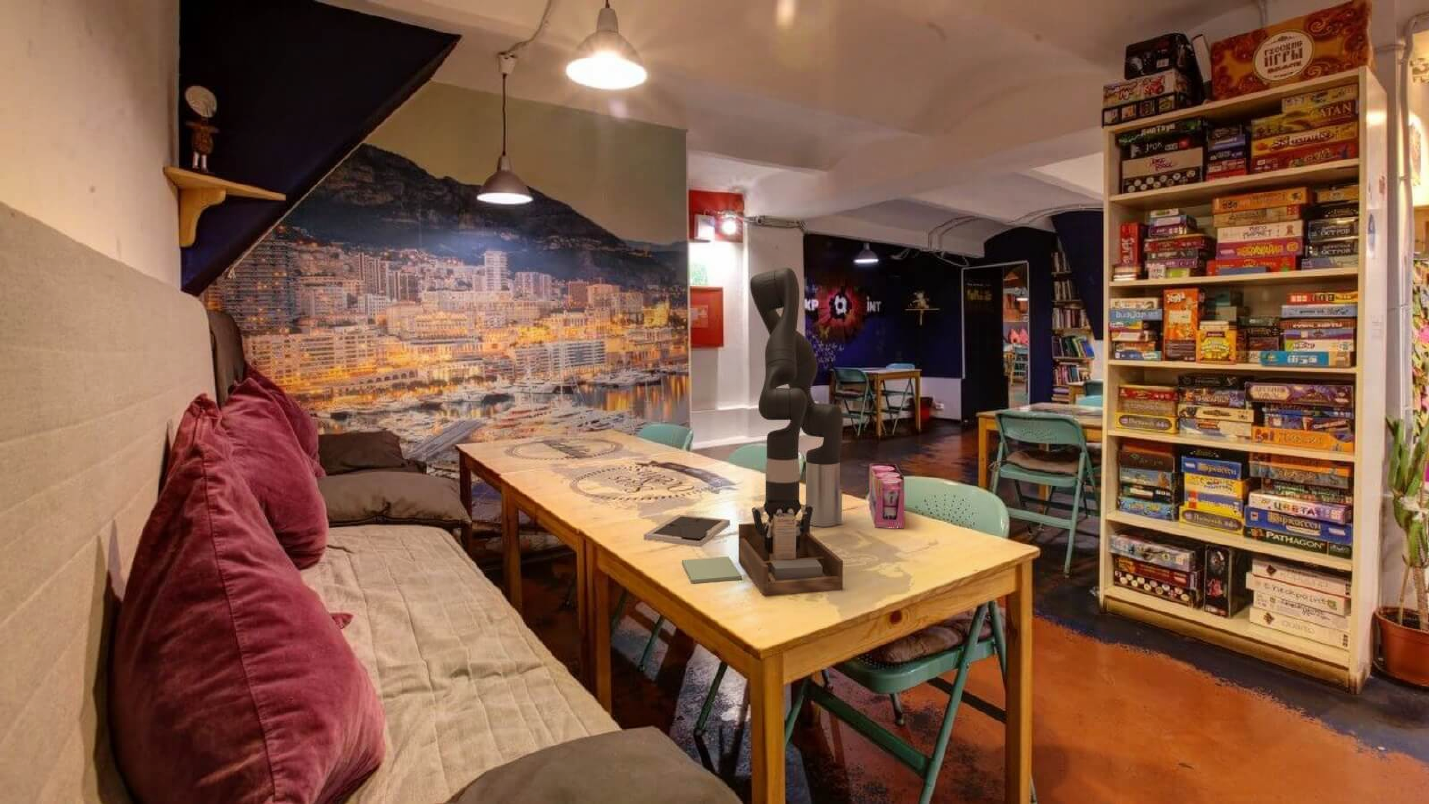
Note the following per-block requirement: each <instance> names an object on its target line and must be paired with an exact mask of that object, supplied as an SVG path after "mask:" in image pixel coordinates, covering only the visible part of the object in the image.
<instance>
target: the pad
mask: <svg viewBox="0 0 1429 804" xmlns="http://www.w3.org/2000/svg"><path fill="white" fill-rule="evenodd" d="M681 564H683V565H682V566H684V567H683V569H684V568H685V569H684V571H685V570H686V571H685V572H687V573H686V575H687V574H688V575H687V576H689V577H688V579H689V578H690V579H689V580H691V581H690V583H691V584H700V583H701V582H702V583H701V584H703V582H704V583H713V582H714V583H715V582H716V583H717V582H725V581H739V580H742V579H743V575H742V574H741V572H740V571H739V569H738V568H737V567H736V566H735V565H736V564H734V562H733V561H732V560H731V558H730V556H718V557H705V558H693V559H682V560H681Z"/></svg>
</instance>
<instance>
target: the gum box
mask: <svg viewBox="0 0 1429 804" xmlns="http://www.w3.org/2000/svg"><path fill="white" fill-rule="evenodd" d="M868 469H869V472H868V473H869V488H868V489H869V490H868V491H869V493H868V496H869V497H868V498H869V499H868V509H869V511H871V512H870V515H871V519H872V520H873V521H872V522H873V524H874V528H876V527H892V528H891V529H898V528H905V527H904V526H905V476H904V475H903V474H902V472H901V471H900V470H899V468H898V465H897V464H896V463H870V464H869V468H868ZM893 527H894V528H893ZM897 527H898V528H897Z"/></svg>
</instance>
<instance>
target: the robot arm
mask: <svg viewBox="0 0 1429 804" xmlns="http://www.w3.org/2000/svg"><path fill="white" fill-rule="evenodd" d="M749 289H750V294H751V296H752V299H753V300H752V301H753V303H754V304H755V305H754V306H755V307H756V309H757V311H758V313H759V316H760V318H761V320H762V323H764V324H763V325H764V326H765V327H766V330H767V333H768V334H769V337H768V339H767V342H766V344H765V345H766V346H765V348H764V361H765V362H764V367H765V371H764V372H765V376H764V382H763V386H762V390H761V392H760V394H759V395H760V396H759V400H758V408H757V409H758V412H759V414H760V415H761V417H762V418H763V419H765V420H767V421H789V423H788V424H787V426H786V427H784V428H781V429H775V430H772V431H769V433H768V434H767V436H766V460H765V461H766V462H765V502H764V504H763V506H760V507H752V509H751V513H752V518H753V523H755V527H756V531H757V532H758V533H759V535H761V536H765V549H766V550H767V551H768V553H769V554H773V538H772V535H773V527H774V518H773V515H774V514H775V515H781V514H782V513H788V514H793V515H795V517H796V518H797V515H798V513H799V512H800V513H801V514H802V516H801V519H800V520H801V523H800V526H799V527H798V523H797V520H798V519H796V552H797V549H799V548H800V535H801V534H802V533H804V532H808V529H809V525H810V526H814V527H825V528H827V527H828V528H829V527H834V526H838V525H842V524H843V523H842V521H843V520H842V519H843V490H842V489H840V479H841V478H840V468H841V467H840V466H841V462H840V461H841V453H842V444H843V442H842V441H843V429H844V415H843V411H842V409H841V407H840V406H839V405H837V404H830V403H829V404H828V403H817V402H816V401H815V400H814V398H813V395H812V392H811V390H812V387H813V384H814V382H815V379H816V377H817V375H818V374H817V372H818V370H819V369H818V367H819V366H818V360H817V357H816V354H815V351H814V349H813V345H812V343H811V342H810V341H809V339H808V338H807V337H805V336H804V335H803V334H802V333H801V332H800V331H797V330H798V329H797V328H798V320H799V319H798V318H799V308H800V285H799V281H798V278H797V275H796V273H795V271H794V270H793V269H792V268H791V267H781V268H778V269H774V270H769V271H765V272H762V273H757V274H755V275H754V276H752V277H751V279H750V281H749ZM779 309H782V312H781V316H780V314H779V313H778V311H777V310H779ZM786 385H788V387H787V388H786V387H783V386H786ZM781 386H782V387H781ZM779 387H780V388H779ZM801 430H802V431H803V433H804V434H805V435H807V436H810V437H815V438H816V437H817V438H823V441H822V444H821V445H820V446H819V447H815V448H812V449H809V450H807V451H806V454H805V504H803V503H802V504H801V502H800V477H801V472H800V461H799V442H800V441H799V439H800V432H801ZM764 513H766V514H767V516H768V517H767V520H766V522H767V525H766V528H765V529H763V524H762V523H763V520H762V518H763V517H764ZM771 520H772V522H771Z"/></svg>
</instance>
